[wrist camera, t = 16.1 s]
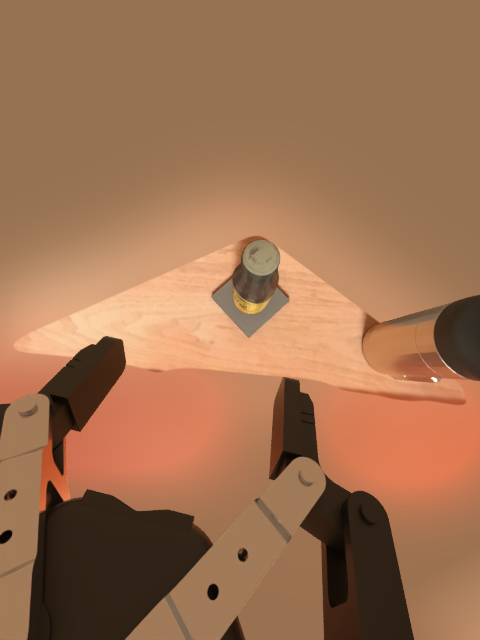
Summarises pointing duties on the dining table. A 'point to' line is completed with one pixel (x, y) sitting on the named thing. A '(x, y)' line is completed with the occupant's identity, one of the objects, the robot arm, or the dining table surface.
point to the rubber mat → (244, 320)
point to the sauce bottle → (256, 276)
